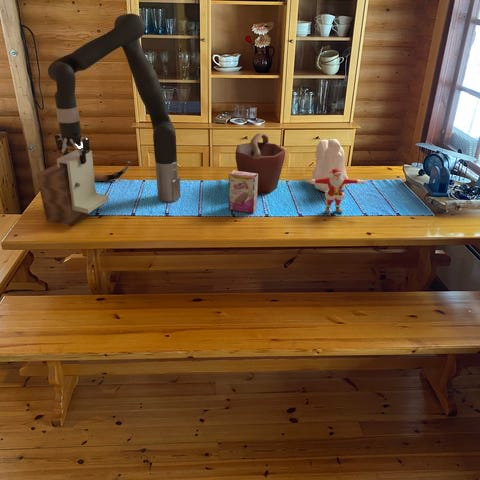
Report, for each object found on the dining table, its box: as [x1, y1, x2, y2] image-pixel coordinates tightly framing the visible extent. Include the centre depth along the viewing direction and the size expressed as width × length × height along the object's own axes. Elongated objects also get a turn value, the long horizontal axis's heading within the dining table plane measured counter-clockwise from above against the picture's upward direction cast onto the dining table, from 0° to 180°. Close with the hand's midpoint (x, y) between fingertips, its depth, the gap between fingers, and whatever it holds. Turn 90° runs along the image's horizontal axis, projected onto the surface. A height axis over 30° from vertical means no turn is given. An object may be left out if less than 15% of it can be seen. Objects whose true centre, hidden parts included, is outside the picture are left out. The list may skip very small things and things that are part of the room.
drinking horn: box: [94, 160, 132, 182], centre depth 227 cm, size 6×30×10 cm, turn 92°
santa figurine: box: [304, 169, 367, 214], centre depth 198 cm, size 25×6×19 cm, turn 90°
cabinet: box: [36, 163, 96, 227], centre depth 191 cm, size 12×18×25 cm, turn 161°
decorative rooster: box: [311, 138, 349, 192], centre depth 221 cm, size 25×16×25 cm, turn 2°
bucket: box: [235, 133, 286, 195], centre depth 219 cm, size 24×22×25 cm
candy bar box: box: [228, 169, 258, 214], centre depth 199 cm, size 11×5×16 cm, turn 71°
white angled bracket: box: [56, 149, 110, 215], centre depth 187 cm, size 12×14×20 cm
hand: (75, 162), depth 184 cm, fingers open, 6 cm apart
